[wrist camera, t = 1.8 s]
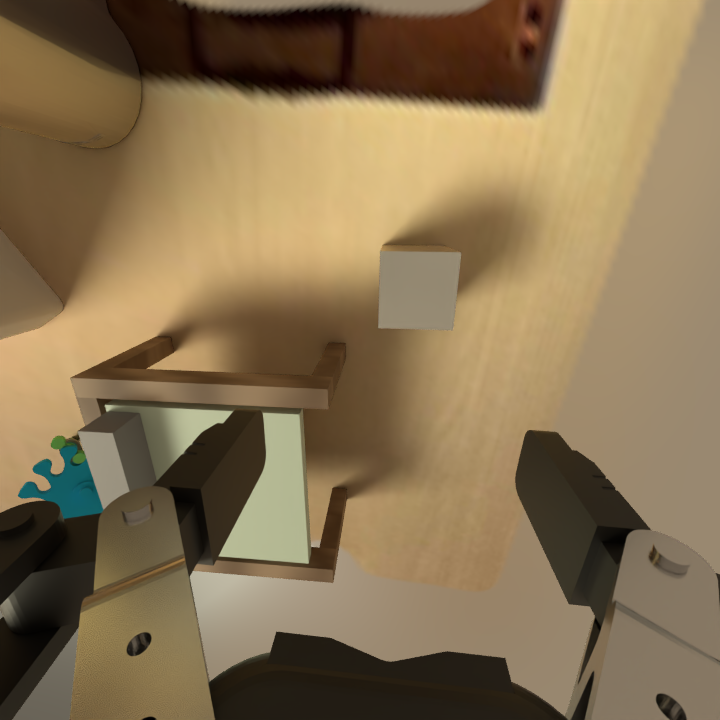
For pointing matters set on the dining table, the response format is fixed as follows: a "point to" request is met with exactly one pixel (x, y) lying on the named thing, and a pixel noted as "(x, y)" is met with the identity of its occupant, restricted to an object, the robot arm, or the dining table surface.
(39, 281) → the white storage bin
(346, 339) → the dining table surface
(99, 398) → the stand
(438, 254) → the small gray block
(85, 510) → the teal piece
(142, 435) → the trapdoor
